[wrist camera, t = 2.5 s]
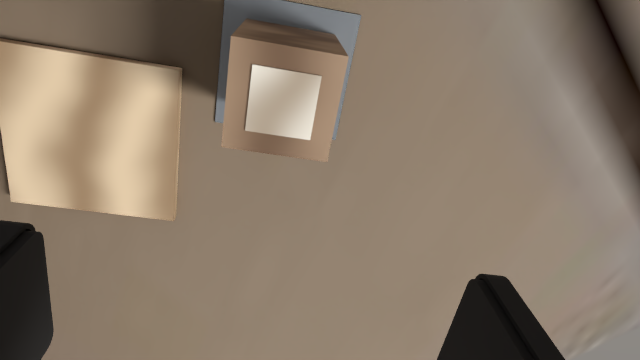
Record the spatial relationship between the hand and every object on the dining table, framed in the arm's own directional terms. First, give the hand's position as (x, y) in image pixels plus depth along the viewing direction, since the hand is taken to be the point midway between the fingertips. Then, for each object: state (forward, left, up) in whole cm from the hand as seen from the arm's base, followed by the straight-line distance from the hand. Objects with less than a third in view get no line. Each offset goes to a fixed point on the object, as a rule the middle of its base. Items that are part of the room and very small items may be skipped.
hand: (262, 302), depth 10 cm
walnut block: (0, 0, -23) cm, 23 cm away
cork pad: (+13, +7, -23) cm, 27 cm away
